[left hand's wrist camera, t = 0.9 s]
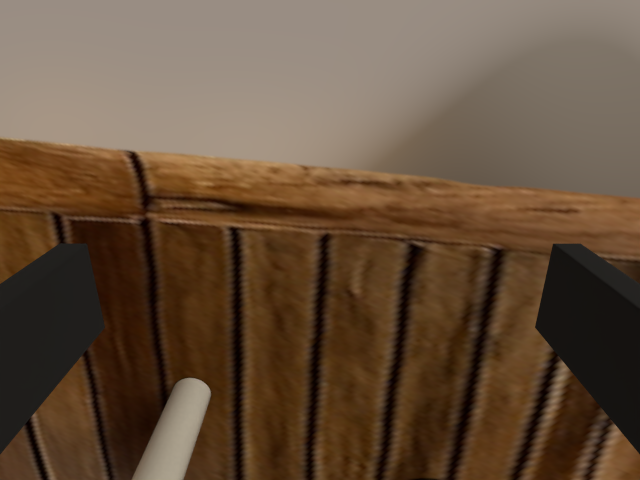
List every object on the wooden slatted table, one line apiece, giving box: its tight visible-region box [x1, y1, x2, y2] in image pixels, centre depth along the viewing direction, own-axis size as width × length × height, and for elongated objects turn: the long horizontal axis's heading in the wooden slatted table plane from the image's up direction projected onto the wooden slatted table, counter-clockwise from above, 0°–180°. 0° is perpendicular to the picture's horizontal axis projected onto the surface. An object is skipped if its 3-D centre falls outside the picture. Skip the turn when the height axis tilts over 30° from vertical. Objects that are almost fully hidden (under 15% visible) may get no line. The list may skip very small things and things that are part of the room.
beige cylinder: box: [132, 378, 211, 480], centre depth 42 cm, size 4×4×16 cm
